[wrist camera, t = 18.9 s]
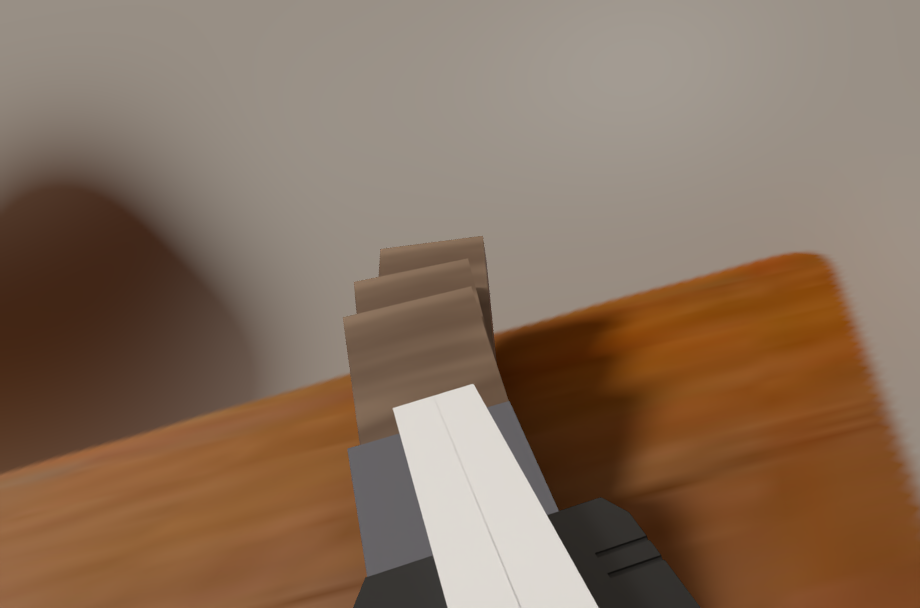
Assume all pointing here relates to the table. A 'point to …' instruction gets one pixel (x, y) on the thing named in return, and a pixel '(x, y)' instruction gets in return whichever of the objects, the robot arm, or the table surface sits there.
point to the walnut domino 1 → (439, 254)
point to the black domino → (395, 501)
